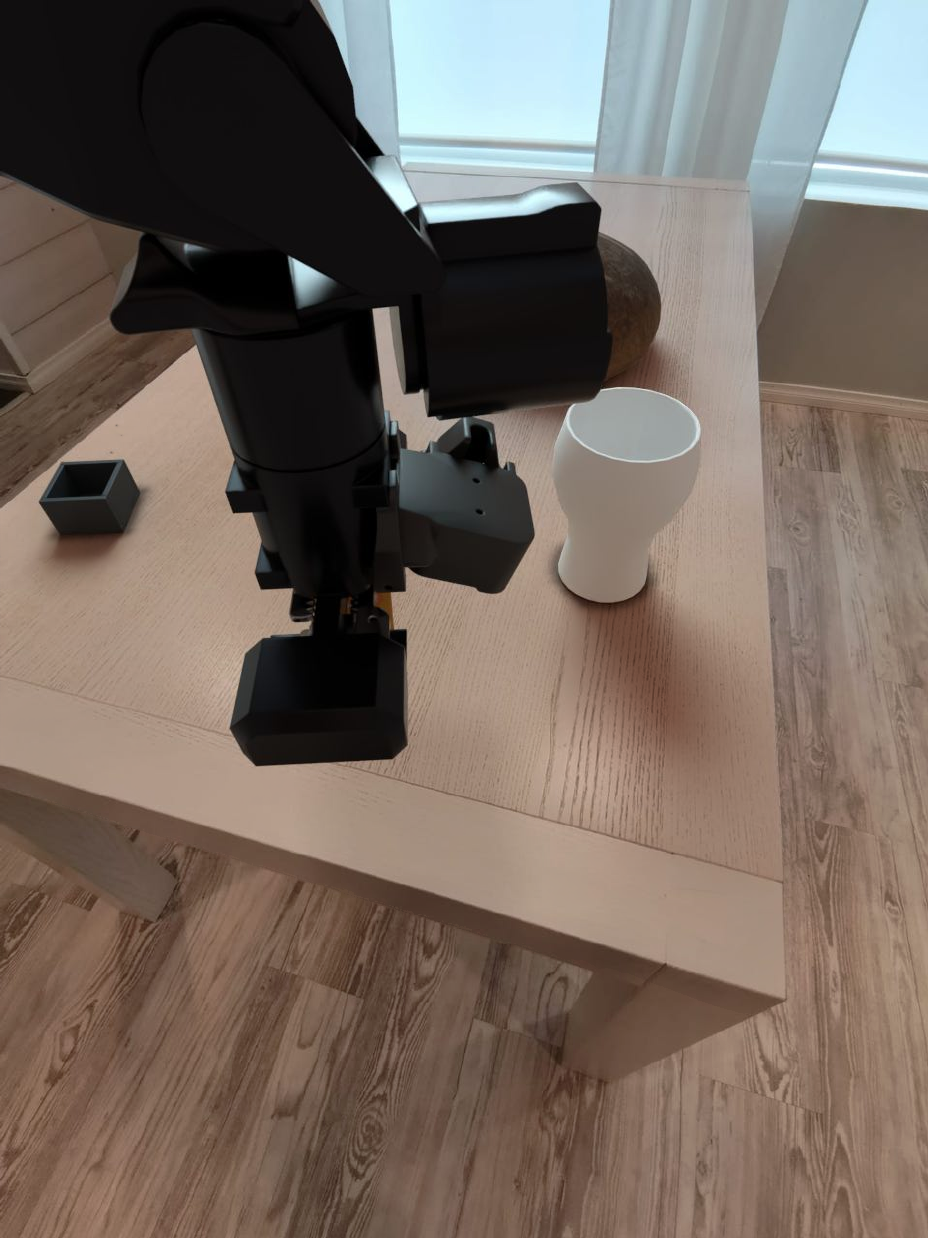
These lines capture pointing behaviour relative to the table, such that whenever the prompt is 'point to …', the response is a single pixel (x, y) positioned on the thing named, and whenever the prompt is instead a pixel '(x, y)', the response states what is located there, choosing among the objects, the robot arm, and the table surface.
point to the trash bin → (90, 497)
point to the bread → (628, 303)
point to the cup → (621, 485)
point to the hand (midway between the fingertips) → (362, 673)
